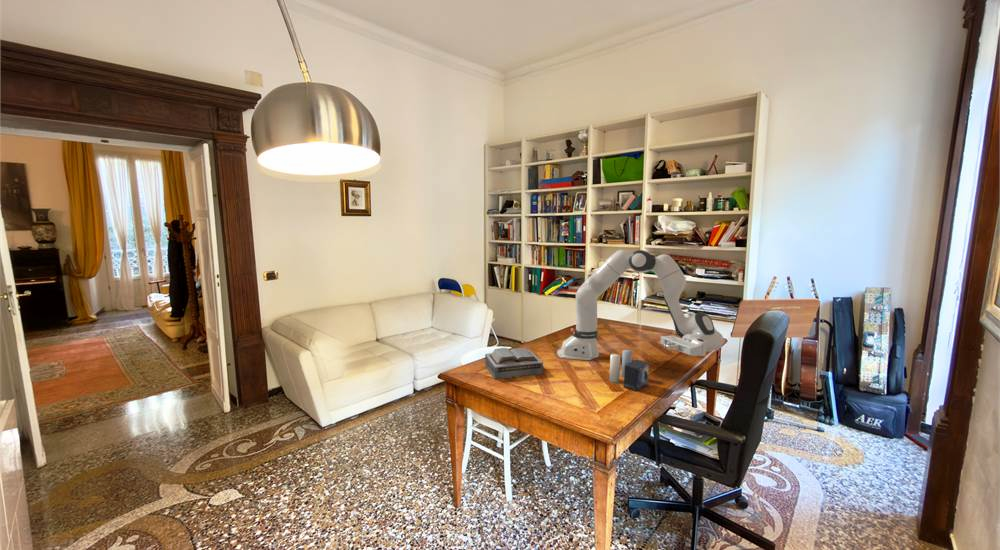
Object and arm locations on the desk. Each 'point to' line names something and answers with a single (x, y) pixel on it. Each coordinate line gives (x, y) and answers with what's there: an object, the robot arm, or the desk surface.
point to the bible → (513, 363)
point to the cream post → (614, 368)
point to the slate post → (626, 359)
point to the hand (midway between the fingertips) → (666, 346)
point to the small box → (636, 375)
